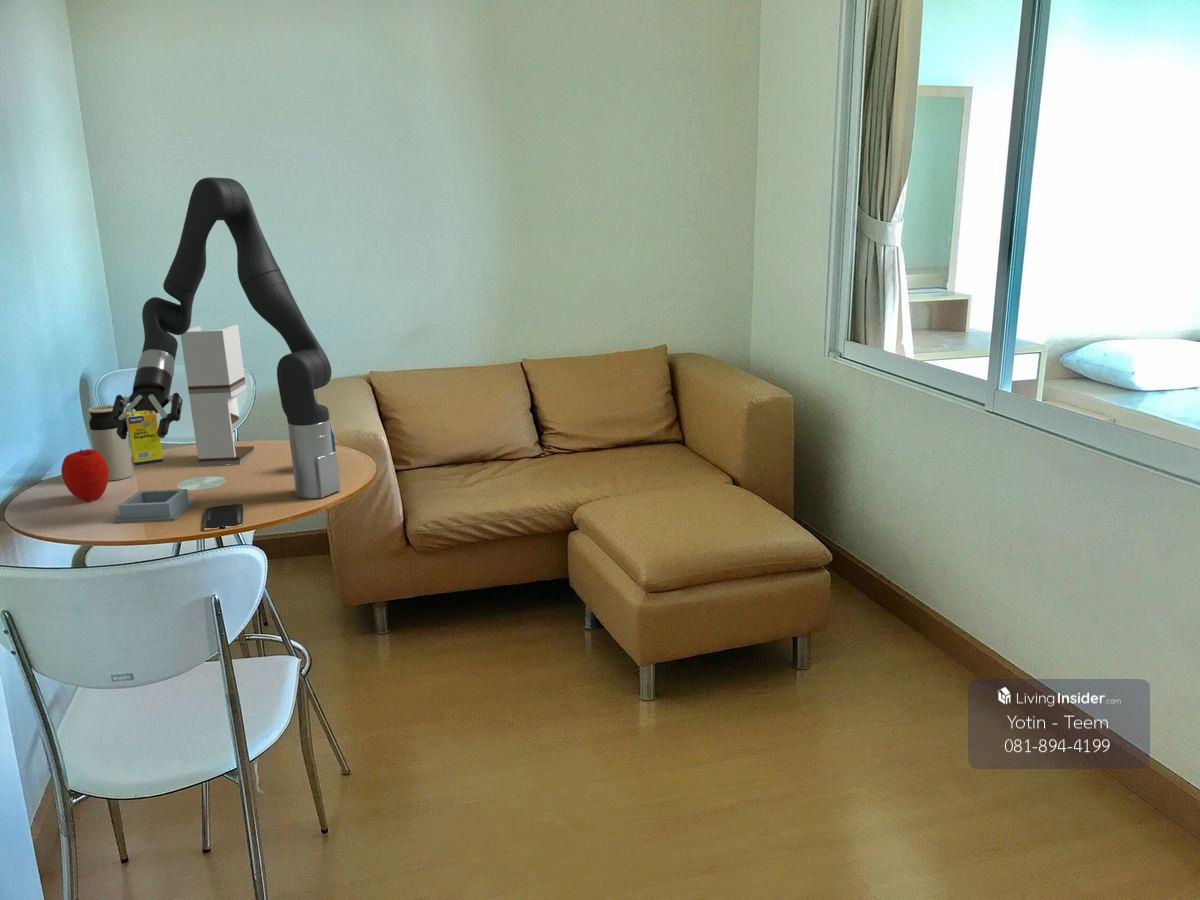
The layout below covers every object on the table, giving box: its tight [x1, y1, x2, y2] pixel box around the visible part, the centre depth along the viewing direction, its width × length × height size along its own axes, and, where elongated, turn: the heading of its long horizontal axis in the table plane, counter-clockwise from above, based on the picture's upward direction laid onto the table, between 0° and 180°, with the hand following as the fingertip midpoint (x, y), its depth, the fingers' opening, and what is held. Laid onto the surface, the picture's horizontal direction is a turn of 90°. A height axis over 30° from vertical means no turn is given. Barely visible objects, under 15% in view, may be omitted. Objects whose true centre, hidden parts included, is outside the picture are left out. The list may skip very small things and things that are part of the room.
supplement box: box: [125, 410, 164, 467], centre depth 216 cm, size 6×6×11 cm
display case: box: [180, 324, 255, 467], centre depth 259 cm, size 11×11×35 cm
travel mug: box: [87, 404, 134, 482], centre depth 248 cm, size 8×8×18 cm
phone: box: [203, 503, 244, 529], centre depth 215 cm, size 8×1×15 cm
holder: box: [112, 488, 196, 524], centre depth 220 cm, size 13×13×4 cm
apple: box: [60, 448, 109, 502], centre depth 231 cm, size 10×10×12 cm
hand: (141, 436), depth 215 cm, fingers closed on supplement box, 8 cm apart
